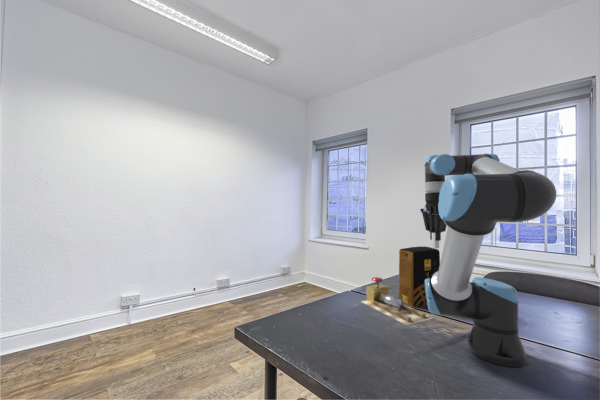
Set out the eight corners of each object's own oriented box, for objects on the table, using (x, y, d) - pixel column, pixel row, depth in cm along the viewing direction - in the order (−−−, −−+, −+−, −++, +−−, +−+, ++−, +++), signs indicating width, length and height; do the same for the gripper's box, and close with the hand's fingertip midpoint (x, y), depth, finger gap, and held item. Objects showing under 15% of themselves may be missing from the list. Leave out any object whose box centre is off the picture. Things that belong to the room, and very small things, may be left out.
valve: (387, 301, 125) (387, 278, 125) (373, 304, 121) (373, 281, 121) (376, 296, 132) (376, 275, 132) (362, 298, 128) (362, 276, 128)
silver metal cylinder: (402, 311, 114) (404, 300, 114) (395, 310, 111) (397, 298, 112) (384, 304, 122) (386, 293, 123) (377, 303, 120) (379, 292, 121)
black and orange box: (443, 305, 124) (443, 247, 124) (413, 311, 116) (413, 249, 117) (425, 298, 134) (424, 244, 134) (396, 303, 126) (396, 246, 127)
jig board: (434, 321, 106) (434, 314, 106) (407, 329, 99) (407, 321, 99) (385, 299, 131) (384, 293, 131) (360, 304, 124) (360, 298, 124)
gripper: (455, 191, 104) (456, 249, 103) (427, 193, 115) (427, 245, 115) (443, 191, 100) (444, 251, 100) (415, 192, 112) (416, 246, 111)
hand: (435, 248), depth 107 cm, fingers closed
